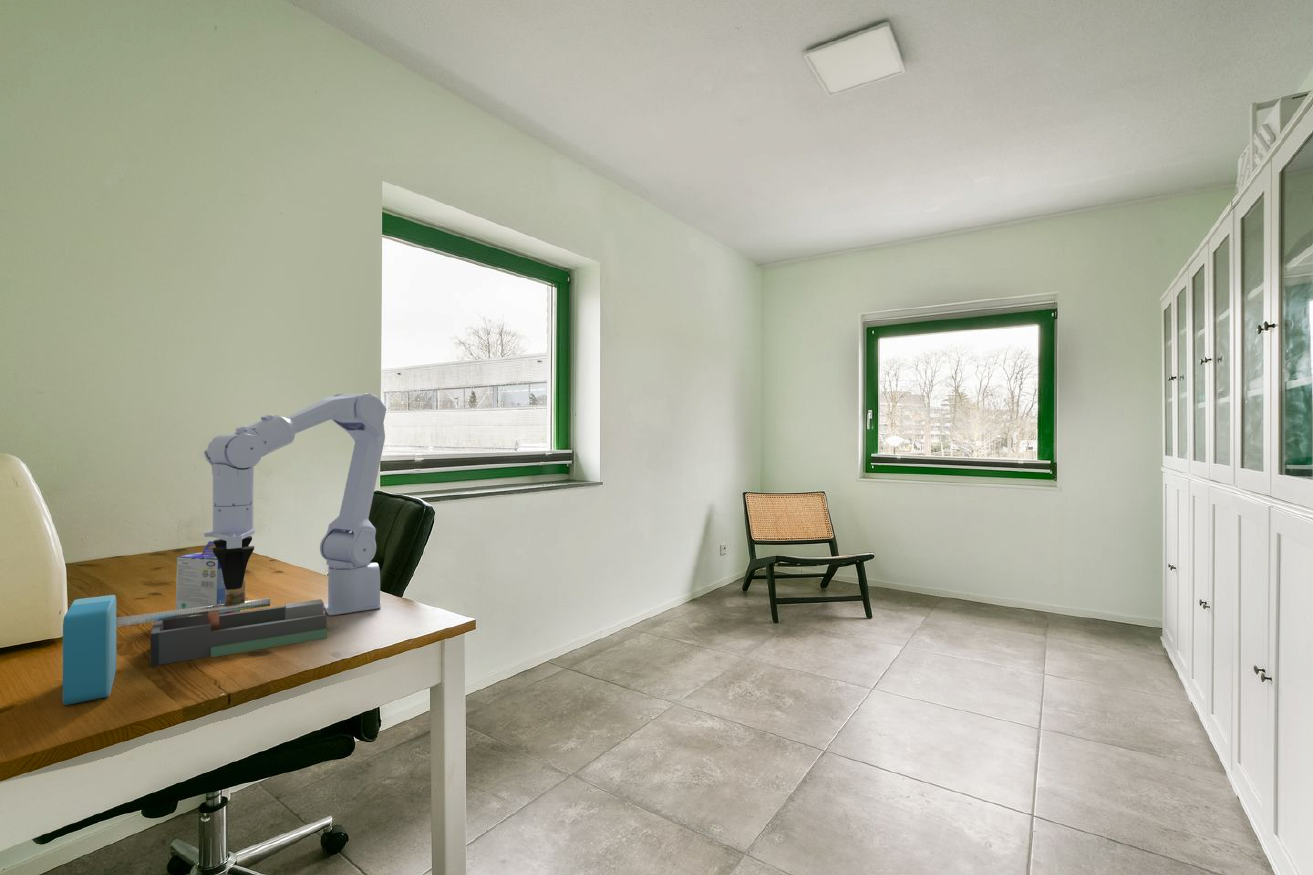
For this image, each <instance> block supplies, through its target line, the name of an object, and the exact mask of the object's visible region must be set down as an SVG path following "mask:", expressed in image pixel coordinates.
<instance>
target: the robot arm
mask: <svg viewBox="0 0 1313 875" xmlns="http://www.w3.org/2000/svg"><path fill="white" fill-rule="evenodd" d="M386 413H387V408H386V406H385V404H384V403H383V402H382V400H381V398H380V397H379V396H378V395H377V394H375V393H372V392H367V393H336V394H334V395H332V396H326V397H324V398H323V399H321V400H320V401H318V402H316V403H313V404H311V405H309V406H307V407H305V408H303V409H301V410H298V411H297V412H294V413H293V414H291V415H289V416H287V417H284V416H281V415H275V414H274V415H272V414H265V415H263V416H261V417H260V421H258V422H255V423H253V424H251V425H248V426H238V427H236V428H235V432H234V433H233V434H229V433H228V434H220V435H219V434H218V435H217V436H215V437H214V438H212V439H211V441H210V442H209V444H208V445H207V448H206V450H204V451H203V454H204V457H205V460H206V461H207V463H208V464H209V465H210V466H211V474H212V530H206V531H204V532H203V536H204V537H205V538H211V537H212V538H215V539H214V540H212V541H213V543H214V545H213V546H215V547H213V548H212V549H213V553H214V555H215V556H216V558H217V559H218V561H219V564H220V566H221V570H222V575H223V580H224V585H225V588H226V590H231V589H240V588H241V587H242V584H243V580H244V578H245V574H246V571H247V570H246V569H247V566H248V563H249V560H250V558H251V555H252V554H253V552H254V550H255V545H250V544H251V542H252V541H253V535H254V534H255V533H256V529H255V528H254V477H255V476H254V467H255V466H256V465H258V463H259V462H260V461H261V459H262V458H263V457H264V456H266V455H269V454H270V453H273V452H275V451H278V450H279V449H282V448H284V447H286V446H288V445H291V444H292V443H293V442H294V441H295V438H296V434H298V433H300V432H303V431H306V430H308V429H310V428H313V427H315V426H319V425H321V424H323V423H325V422H327V421H330V420H331V421H332V422H334V423H335V424H336V425H337V426H338V427H340V428H341V429H343V430H344V431H345V432H346V433H348V434H349V436H350V437H351V438H352V439H353V441H354V445H353V450H352V455H351V460H350V463H349V468H348V474H347V476H346V477H347V478H346V482H345V483H346V484H345V488H344V493H343V497H342V500H341V505H340V510H339V515H338V516H337V517H336V518H335V519H334V520H332V522H331V523H329V524H328V528H327V531H326V534H324V536H323V538H322V539H321V541H320V545H319V552H320V554H321V556H322V558H323V559H324V560H326V566H327V568H328V569H327V571H328V573H327V578H328V579H327V581H328V583H327V584H328V585H327V587H328V588H327V594H328V595H327V598H328V599H327V603H324V609H325V610H324V611H325V612H326V613H327V615H328V616H336V615H337V616H338V615H342V614H343V615H344V614H348V613H349V614H350V613H357V612H362V611H363V612H364V611H369V610H376V609H381V608H382V607H381V573H380V572H381V571H380V566H379V563H378V562H371V561H372V560H373V558H374V557H375V555H376V552H377V542H376V534H377V528H376V526H374V525H373V524H372V522H371V521H370V519H369V517H370V513H371V509H372V504H373V498H374V493H375V487H376V484H377V478H378V474H379V469H380V466H381V465H380V463H381V459H382V454H383V450H384V445H385V440H386V433H385V432H386V431H385V425H384V422H385V417H386Z"/></svg>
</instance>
